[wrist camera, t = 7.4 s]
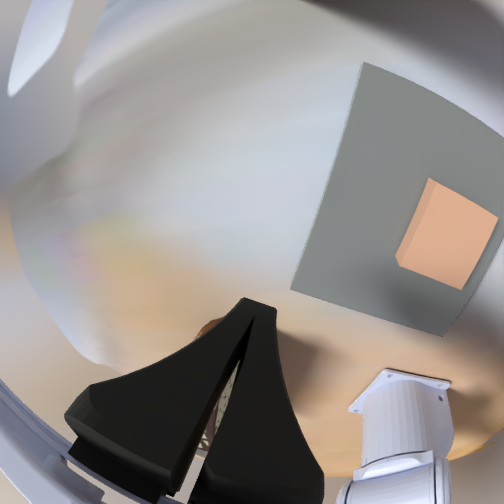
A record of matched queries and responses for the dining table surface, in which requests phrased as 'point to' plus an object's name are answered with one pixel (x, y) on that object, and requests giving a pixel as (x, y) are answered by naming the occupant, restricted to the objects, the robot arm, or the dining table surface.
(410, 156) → the slate board
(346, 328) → the dining table surface
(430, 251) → the tile
